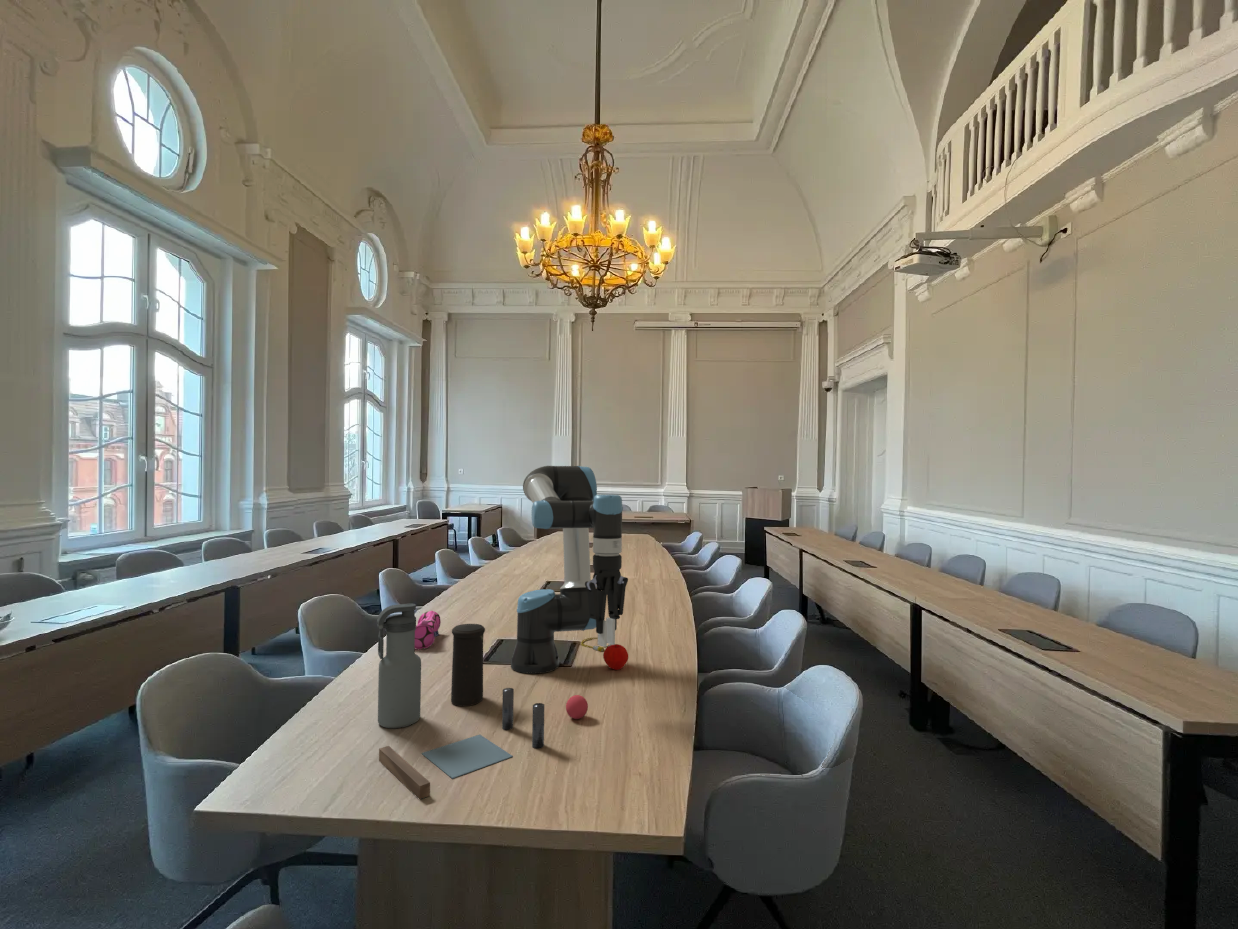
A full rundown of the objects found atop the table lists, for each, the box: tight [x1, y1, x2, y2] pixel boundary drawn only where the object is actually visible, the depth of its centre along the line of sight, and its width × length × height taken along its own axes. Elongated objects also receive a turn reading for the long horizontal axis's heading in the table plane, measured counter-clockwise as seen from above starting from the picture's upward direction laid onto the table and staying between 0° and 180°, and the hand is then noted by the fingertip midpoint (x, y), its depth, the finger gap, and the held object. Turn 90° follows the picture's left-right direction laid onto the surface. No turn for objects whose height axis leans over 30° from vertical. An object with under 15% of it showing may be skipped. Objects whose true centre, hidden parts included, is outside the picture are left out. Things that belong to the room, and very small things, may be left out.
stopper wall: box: [378, 745, 431, 800], centre depth 118 cm, size 2×20×2 cm, turn 43°
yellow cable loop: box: [580, 637, 611, 653], centre depth 211 cm, size 12×16×2 cm
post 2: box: [531, 702, 545, 750], centre depth 132 cm, size 3×3×9 cm
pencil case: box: [415, 610, 442, 650], centre depth 213 cm, size 21×10×10 cm, turn 13°
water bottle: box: [376, 603, 422, 729], centre depth 145 cm, size 10×10×28 cm
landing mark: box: [421, 734, 514, 780], centre depth 127 cm, size 14×14×1 cm
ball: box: [565, 694, 589, 720], centre depth 148 cm, size 6×6×6 cm
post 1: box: [501, 687, 515, 731], centre depth 142 cm, size 3×3×9 cm
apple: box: [602, 643, 629, 671], centre depth 186 cm, size 8×8×7 cm
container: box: [450, 623, 486, 707], centre depth 158 cm, size 9×9×20 cm
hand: (606, 644), depth 154 cm, fingers open, 2 cm apart
